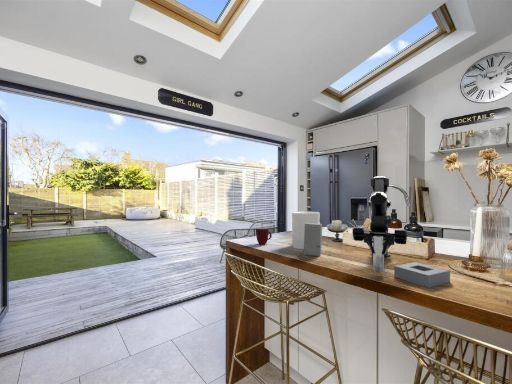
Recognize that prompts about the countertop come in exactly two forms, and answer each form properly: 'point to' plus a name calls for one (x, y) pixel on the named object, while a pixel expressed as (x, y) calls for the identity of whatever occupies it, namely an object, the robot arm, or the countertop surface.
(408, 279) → the hole block
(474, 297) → the countertop surface
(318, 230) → the skincare box
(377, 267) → the steel peg
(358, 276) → the countertop surface
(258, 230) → the mug
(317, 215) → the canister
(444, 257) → the countertop surface
